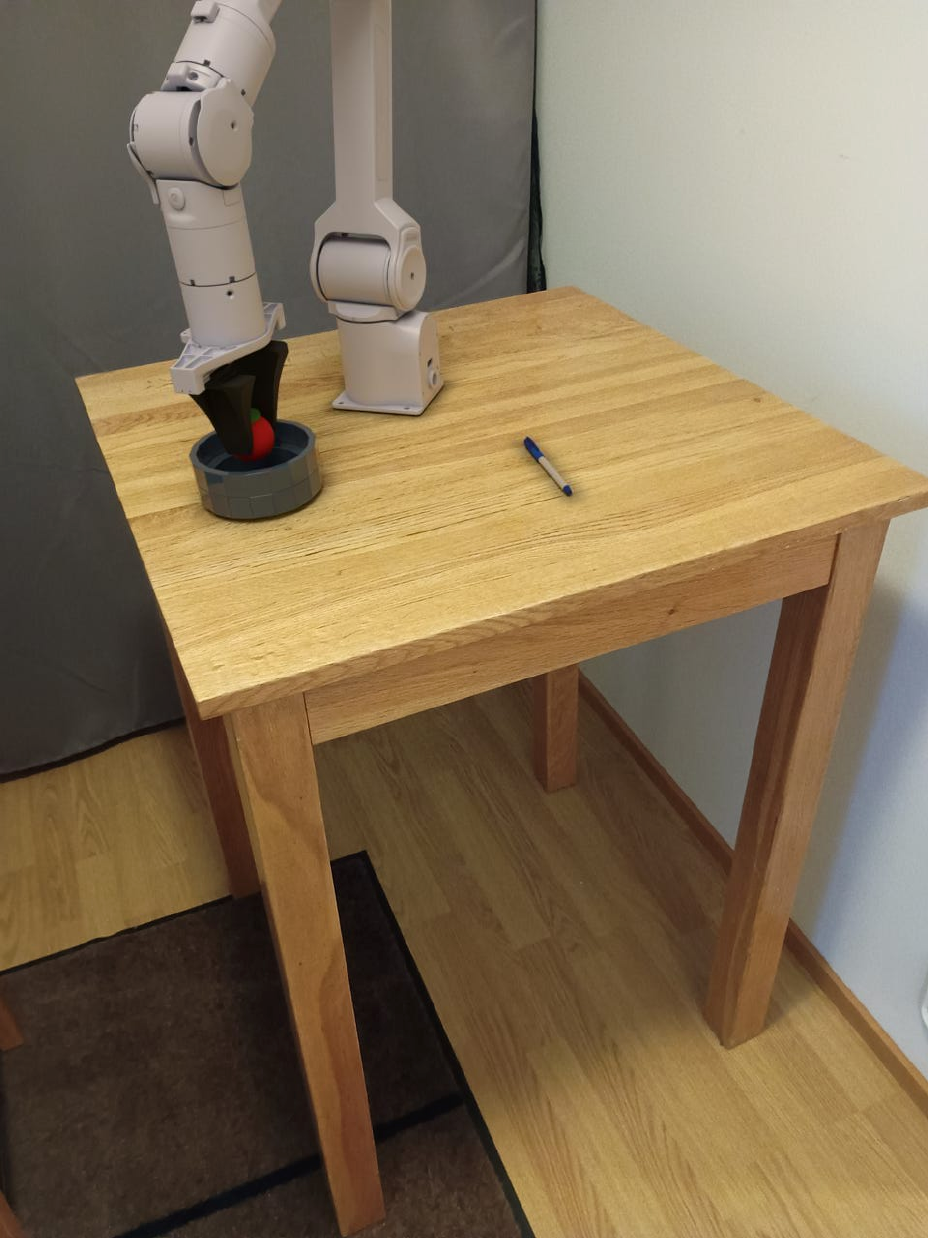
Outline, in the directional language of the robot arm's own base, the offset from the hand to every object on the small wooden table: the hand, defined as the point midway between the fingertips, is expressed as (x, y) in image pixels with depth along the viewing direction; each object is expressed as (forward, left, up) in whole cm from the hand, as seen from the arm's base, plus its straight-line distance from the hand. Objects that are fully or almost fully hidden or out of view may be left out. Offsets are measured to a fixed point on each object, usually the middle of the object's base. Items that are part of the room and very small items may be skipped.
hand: (252, 441), depth 77 cm
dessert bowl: (0, 0, -5) cm, 5 cm away
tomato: (0, 0, -2) cm, 2 cm away
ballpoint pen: (-23, -9, -5) cm, 25 cm away
